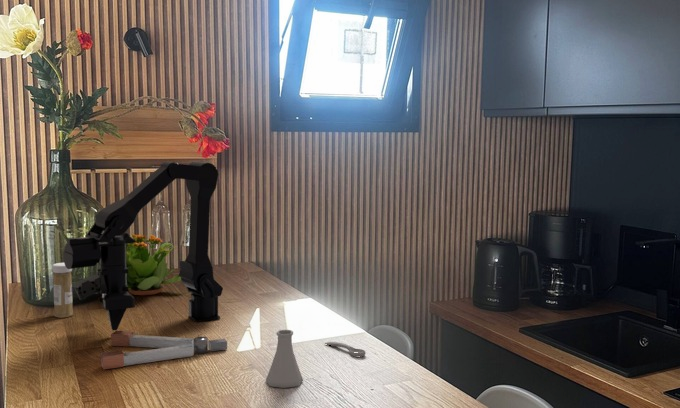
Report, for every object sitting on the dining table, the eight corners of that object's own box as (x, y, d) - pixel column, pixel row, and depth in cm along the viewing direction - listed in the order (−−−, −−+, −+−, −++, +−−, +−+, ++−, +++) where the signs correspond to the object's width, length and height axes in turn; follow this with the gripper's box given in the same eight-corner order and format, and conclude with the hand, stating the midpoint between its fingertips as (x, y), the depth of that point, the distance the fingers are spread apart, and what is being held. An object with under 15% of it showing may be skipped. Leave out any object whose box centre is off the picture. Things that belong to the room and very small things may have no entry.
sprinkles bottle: (74, 316, 169) (73, 264, 167) (55, 319, 166) (54, 266, 165) (71, 312, 172) (69, 261, 171) (52, 314, 170) (50, 263, 168)
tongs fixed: (224, 346, 148) (224, 335, 147) (229, 351, 144) (229, 339, 144) (100, 363, 136) (100, 351, 135) (103, 369, 132) (102, 356, 132)
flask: (266, 375, 132) (266, 326, 131) (302, 374, 132) (303, 326, 131) (265, 389, 125) (265, 338, 124) (303, 389, 125) (304, 337, 124)
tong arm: (211, 347, 147) (211, 335, 146) (205, 354, 143) (205, 341, 142) (116, 341, 149) (116, 329, 149) (108, 347, 145) (107, 335, 145)
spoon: (359, 360, 142) (358, 351, 142) (322, 349, 151) (322, 341, 151) (368, 357, 144) (368, 348, 144) (332, 347, 153) (331, 338, 153)
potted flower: (202, 285, 204) (202, 229, 202) (170, 305, 181) (169, 242, 179) (126, 280, 208) (125, 225, 206) (85, 299, 185) (83, 237, 183)
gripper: (71, 258, 157) (72, 323, 158) (80, 275, 140) (82, 346, 142) (120, 255, 162) (121, 317, 164) (134, 270, 145) (135, 339, 147)
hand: (114, 329), depth 154 cm, fingers closed
